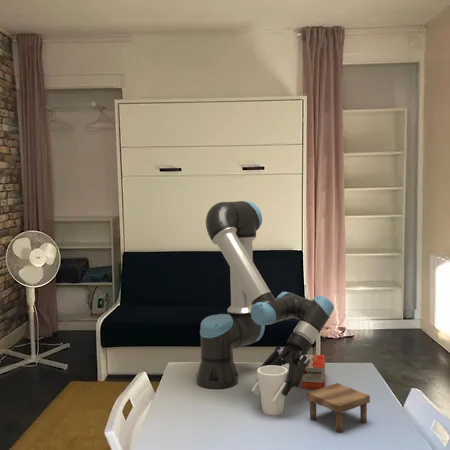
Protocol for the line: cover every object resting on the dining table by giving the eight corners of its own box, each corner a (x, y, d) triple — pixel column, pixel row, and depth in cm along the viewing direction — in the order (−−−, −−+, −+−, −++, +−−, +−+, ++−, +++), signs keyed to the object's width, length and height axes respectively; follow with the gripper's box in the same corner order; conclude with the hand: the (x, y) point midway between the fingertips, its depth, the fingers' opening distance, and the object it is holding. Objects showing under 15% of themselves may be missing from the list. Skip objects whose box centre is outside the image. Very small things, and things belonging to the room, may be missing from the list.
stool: (307, 418, 163) (306, 392, 162) (337, 407, 170) (336, 383, 170) (339, 434, 152) (339, 406, 152) (369, 422, 160) (369, 395, 159)
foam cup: (286, 418, 163) (286, 376, 162) (255, 416, 165) (255, 374, 164) (289, 405, 172) (288, 366, 172) (260, 404, 174) (259, 364, 173)
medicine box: (303, 374, 202) (302, 353, 201) (325, 375, 200) (325, 354, 200) (301, 389, 187) (300, 366, 186) (324, 390, 185) (324, 368, 185)
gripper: (333, 353, 167) (295, 416, 159) (285, 338, 185) (249, 393, 177) (321, 339, 164) (282, 403, 156) (273, 325, 182) (236, 381, 174)
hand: (265, 398), depth 167 cm, fingers closed on foam cup, 9 cm apart
